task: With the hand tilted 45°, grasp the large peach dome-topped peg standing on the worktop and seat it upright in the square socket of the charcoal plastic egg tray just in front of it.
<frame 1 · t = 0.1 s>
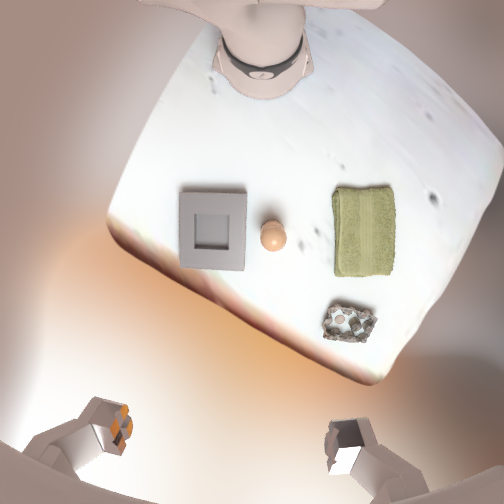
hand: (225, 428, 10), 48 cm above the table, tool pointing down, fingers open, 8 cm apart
egg tray: (214, 229, 57), on the table
washcloth: (363, 231, 57), on the table
peach dome-topped peg: (272, 231, 57), on the table
egg carton: (346, 319, 61), on the table
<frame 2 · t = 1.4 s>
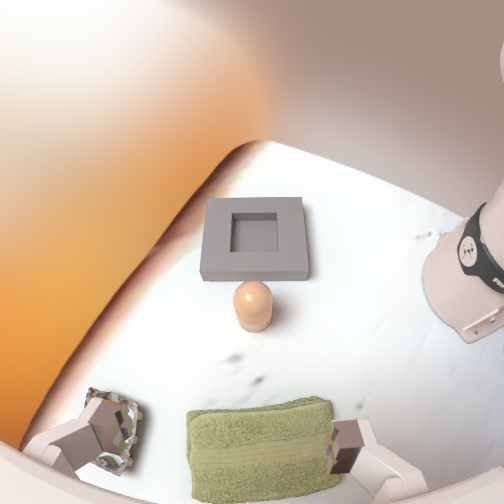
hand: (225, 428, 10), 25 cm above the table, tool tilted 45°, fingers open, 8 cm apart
egg tray: (254, 242, 44), on the table
washcloth: (262, 453, 30), on the table
peach dome-topped peg: (254, 316, 39), on the table
egg carton: (117, 431, 31), on the table
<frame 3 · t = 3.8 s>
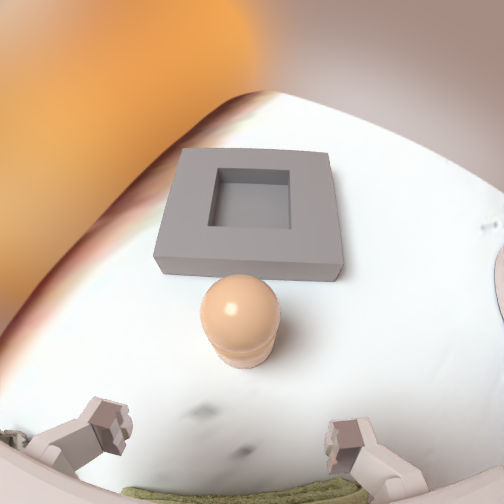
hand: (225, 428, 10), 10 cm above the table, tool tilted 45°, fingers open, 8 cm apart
egg tray: (251, 217, 27), on the table
peach dome-topped peg: (243, 339, 22), on the table
egg carton: (35, 487, 14), on the table
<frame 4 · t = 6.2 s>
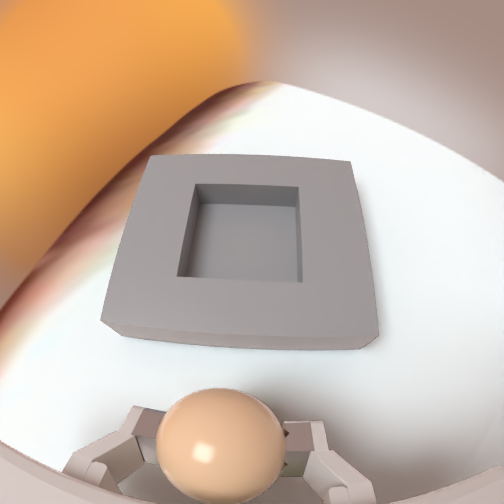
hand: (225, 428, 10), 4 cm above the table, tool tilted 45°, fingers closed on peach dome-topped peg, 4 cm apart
egg tray: (244, 254, 19), on the table
peach dome-topped peg: (232, 435, 14), on the table, touching gripper
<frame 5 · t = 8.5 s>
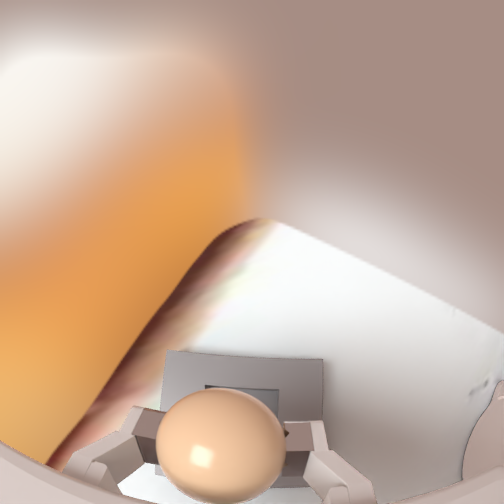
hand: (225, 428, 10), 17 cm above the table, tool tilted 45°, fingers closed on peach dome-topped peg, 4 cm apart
egg tray: (240, 421, 25), on the table
peach dome-topped peg: (232, 435, 14), point 13 cm above the table, touching gripper
when the fingers open (7 cm above the table, at t = 10.8 s): peach dome-topped peg drops 2 cm, resting on egg tray.
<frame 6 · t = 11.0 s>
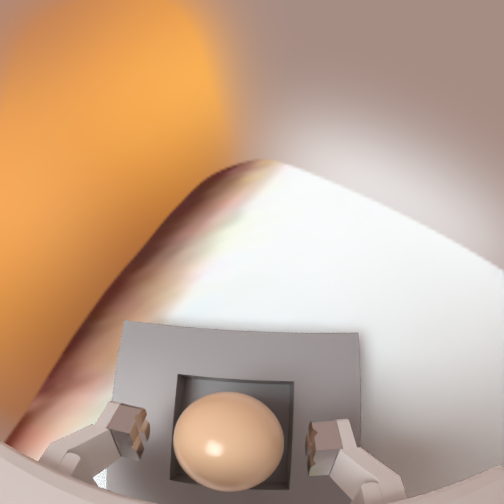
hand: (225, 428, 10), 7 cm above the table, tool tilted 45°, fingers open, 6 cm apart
egg tray: (234, 431, 16), on the table
peach dome-topped peg: (233, 432, 15), point 1 cm above the table, touching egg tray
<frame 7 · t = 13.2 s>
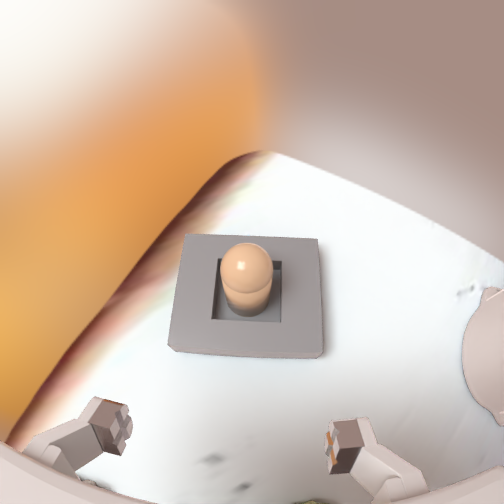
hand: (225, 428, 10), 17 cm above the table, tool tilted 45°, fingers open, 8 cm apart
egg tray: (248, 300, 31), on the table
peach dome-topped peg: (247, 296, 30), point 1 cm above the table, touching egg tray
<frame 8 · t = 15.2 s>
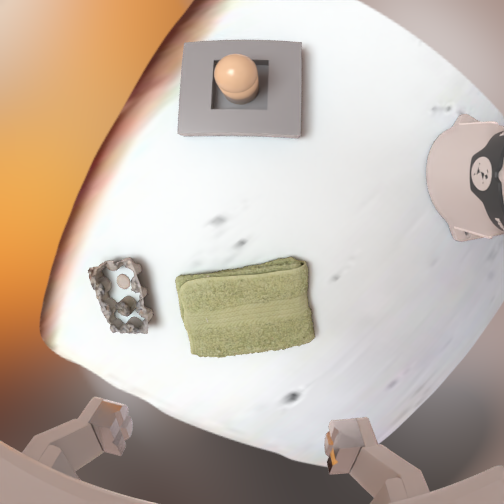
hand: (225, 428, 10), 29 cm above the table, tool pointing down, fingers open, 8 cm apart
egg tray: (241, 90, 33), on the table
washcloth: (246, 307, 41), on the table
peach dome-topped peg: (240, 87, 32), point 1 cm above the table, touching egg tray
egg carton: (128, 291, 41), on the table
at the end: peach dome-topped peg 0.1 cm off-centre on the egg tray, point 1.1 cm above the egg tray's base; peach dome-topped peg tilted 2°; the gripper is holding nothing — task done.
